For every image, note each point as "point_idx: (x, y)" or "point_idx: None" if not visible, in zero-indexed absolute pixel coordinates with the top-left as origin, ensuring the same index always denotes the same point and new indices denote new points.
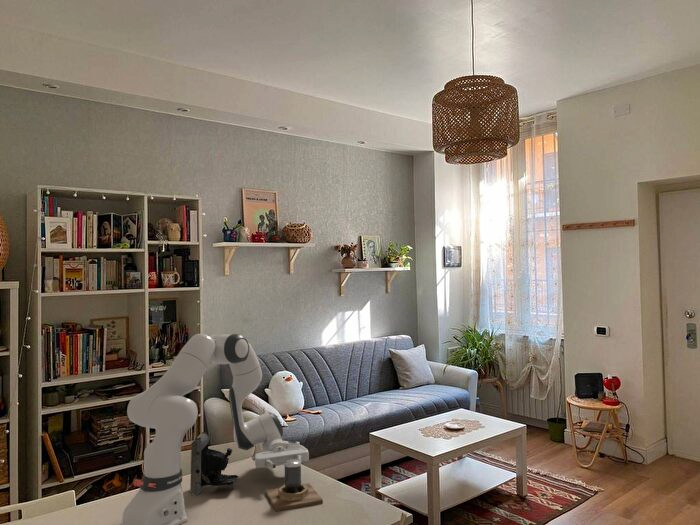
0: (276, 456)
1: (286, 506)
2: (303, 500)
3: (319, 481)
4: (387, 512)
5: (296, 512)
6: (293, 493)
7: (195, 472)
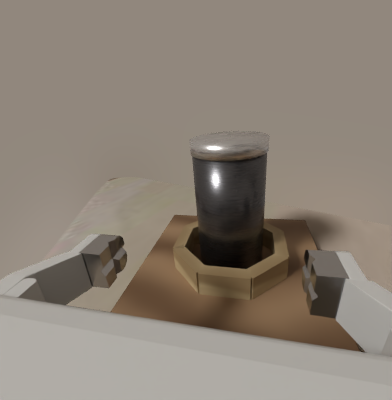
0: (280, 342)
1: (273, 220)
2: None
3: None
4: (120, 184)
5: None
6: None
7: None
